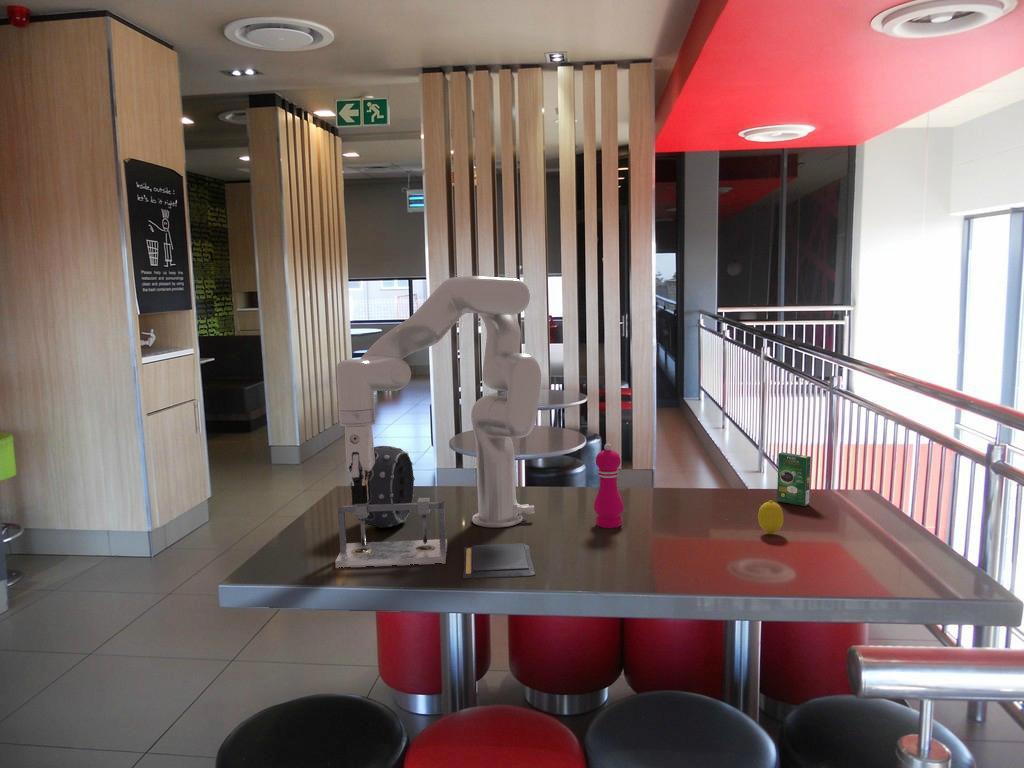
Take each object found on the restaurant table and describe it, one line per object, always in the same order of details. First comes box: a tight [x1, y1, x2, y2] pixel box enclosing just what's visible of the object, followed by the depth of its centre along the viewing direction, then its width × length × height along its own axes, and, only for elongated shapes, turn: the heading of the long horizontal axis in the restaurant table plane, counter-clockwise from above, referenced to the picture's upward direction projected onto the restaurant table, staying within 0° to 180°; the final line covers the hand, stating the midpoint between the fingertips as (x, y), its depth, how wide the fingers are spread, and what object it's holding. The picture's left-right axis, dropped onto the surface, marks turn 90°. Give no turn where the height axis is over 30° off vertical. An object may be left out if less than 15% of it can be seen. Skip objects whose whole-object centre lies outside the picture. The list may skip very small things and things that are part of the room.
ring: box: [349, 445, 416, 529], centre depth 190 cm, size 11×20×20 cm, turn 170°
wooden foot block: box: [354, 477, 369, 546], centre depth 166 cm, size 3×4×15 cm
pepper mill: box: [593, 443, 625, 529], centre depth 185 cm, size 7×7×20 cm
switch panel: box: [334, 497, 448, 569], centre depth 166 cm, size 23×12×12 cm, turn 93°
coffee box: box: [776, 451, 812, 507], centre depth 200 cm, size 8×3×13 cm, turn 44°
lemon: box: [757, 499, 785, 535], centre depth 175 cm, size 6×6×8 cm
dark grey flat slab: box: [462, 542, 536, 580], centre depth 162 cm, size 20×2×15 cm
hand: (361, 500), depth 165 cm, fingers closed on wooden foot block, 3 cm apart
